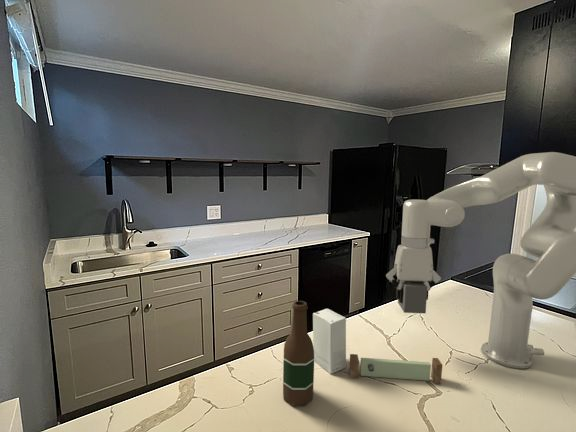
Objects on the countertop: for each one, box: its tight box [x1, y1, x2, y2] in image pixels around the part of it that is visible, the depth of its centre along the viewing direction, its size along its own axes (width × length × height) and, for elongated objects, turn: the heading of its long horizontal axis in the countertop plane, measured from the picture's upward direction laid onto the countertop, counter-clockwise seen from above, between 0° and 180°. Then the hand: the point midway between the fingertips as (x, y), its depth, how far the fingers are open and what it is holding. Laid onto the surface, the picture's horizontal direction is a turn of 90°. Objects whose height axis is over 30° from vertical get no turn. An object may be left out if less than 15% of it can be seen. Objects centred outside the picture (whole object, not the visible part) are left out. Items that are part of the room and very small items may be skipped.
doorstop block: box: [397, 281, 428, 314], centre depth 92 cm, size 6×7×8 cm
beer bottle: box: [282, 300, 315, 407], centre depth 74 cm, size 8×8×24 cm
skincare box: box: [312, 308, 347, 374], centre depth 88 cm, size 8×6×15 cm
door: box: [359, 357, 432, 382], centre depth 82 cm, size 18×2×4 cm, turn 85°
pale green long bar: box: [348, 353, 443, 385], centre depth 83 cm, size 23×3×6 cm, turn 85°
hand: (411, 300), depth 92 cm, fingers closed on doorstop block, 6 cm apart
